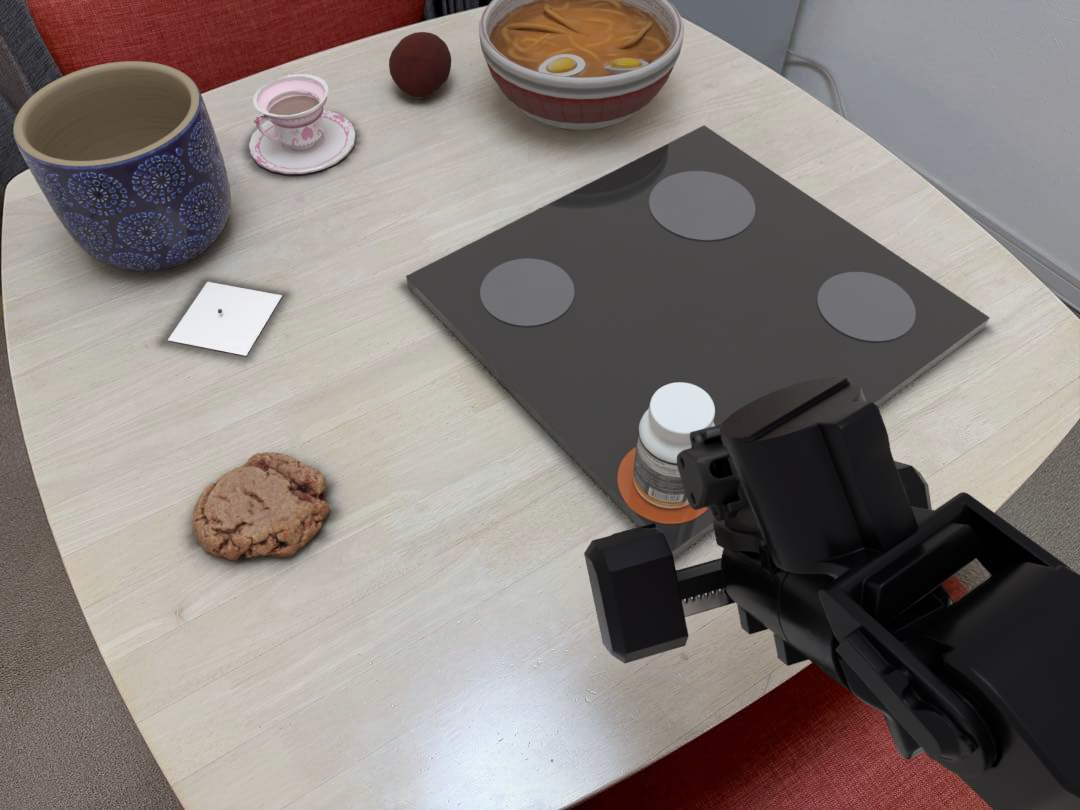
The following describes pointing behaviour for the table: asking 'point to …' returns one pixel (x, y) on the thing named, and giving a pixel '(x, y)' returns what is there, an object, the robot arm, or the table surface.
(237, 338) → the coaster
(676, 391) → the pill bottle
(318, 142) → the teacup
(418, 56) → the potato
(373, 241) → the table surface
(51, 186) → the planter
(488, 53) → the bowl
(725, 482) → the robot arm
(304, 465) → the cookie
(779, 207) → the hob
